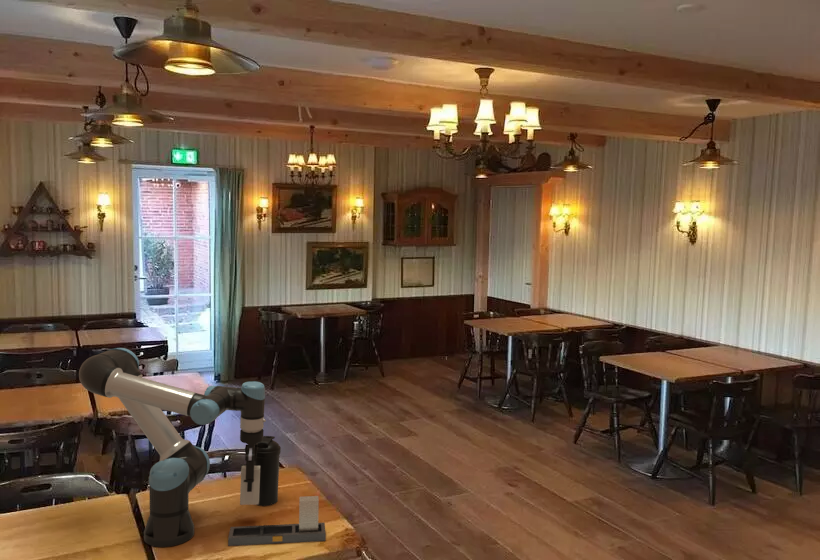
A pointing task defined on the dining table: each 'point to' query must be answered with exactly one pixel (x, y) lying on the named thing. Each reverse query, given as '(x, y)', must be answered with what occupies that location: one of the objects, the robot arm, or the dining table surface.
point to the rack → (283, 528)
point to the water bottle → (268, 470)
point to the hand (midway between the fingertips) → (249, 496)
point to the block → (256, 486)
